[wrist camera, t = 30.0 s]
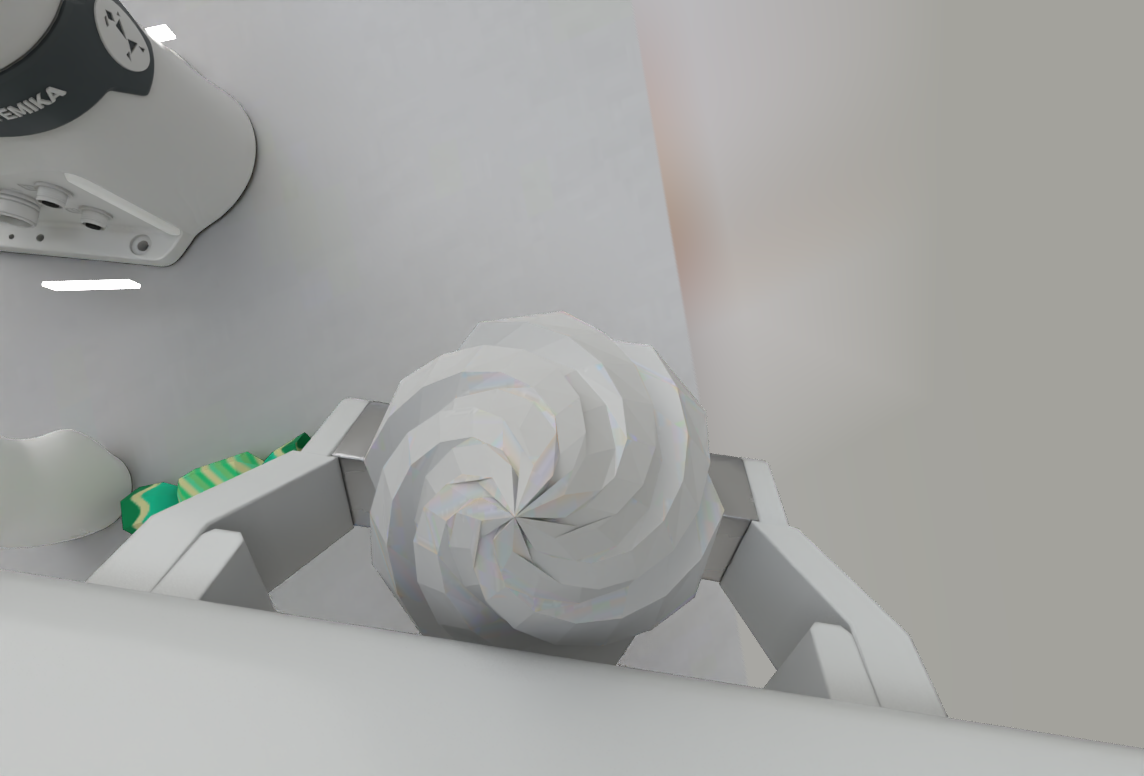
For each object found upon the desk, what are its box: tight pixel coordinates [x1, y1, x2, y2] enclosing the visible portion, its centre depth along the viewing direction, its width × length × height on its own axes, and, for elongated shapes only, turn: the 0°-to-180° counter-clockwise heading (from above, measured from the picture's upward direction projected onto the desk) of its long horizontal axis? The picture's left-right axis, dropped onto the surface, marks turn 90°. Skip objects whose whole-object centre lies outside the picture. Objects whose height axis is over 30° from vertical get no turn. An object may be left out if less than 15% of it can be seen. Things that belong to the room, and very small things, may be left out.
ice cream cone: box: [364, 311, 724, 665], centre depth 11 cm, size 6×6×15 cm
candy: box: [120, 432, 311, 534], centre depth 35 cm, size 12×3×4 cm
